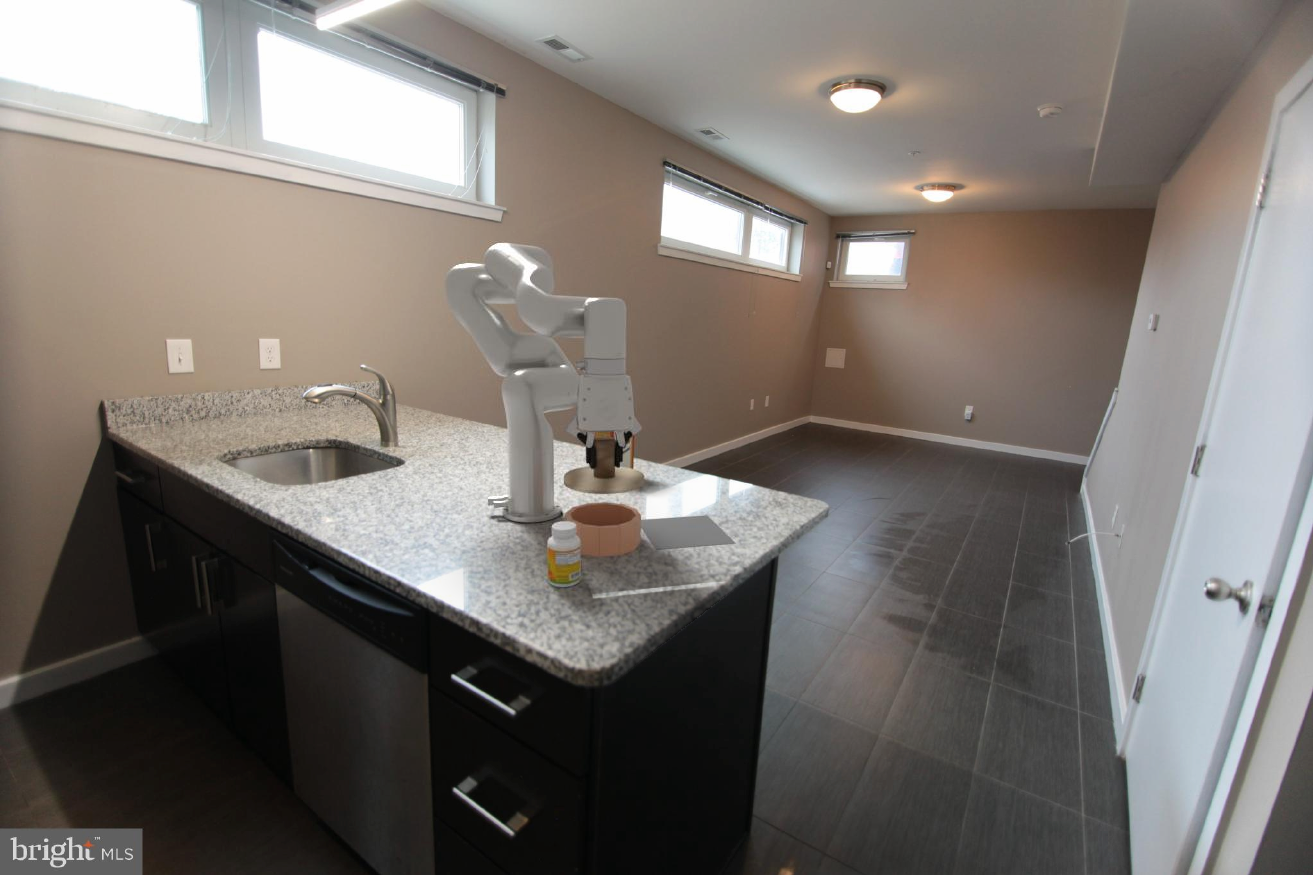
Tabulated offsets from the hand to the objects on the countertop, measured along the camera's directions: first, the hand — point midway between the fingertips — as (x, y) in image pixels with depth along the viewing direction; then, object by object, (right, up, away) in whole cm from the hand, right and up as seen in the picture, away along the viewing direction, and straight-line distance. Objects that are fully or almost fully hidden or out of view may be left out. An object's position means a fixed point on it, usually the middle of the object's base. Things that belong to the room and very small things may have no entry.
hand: (604, 465), depth 109 cm
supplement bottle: (-6, -19, -12) cm, 23 cm away
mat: (+15, -14, +10) cm, 23 cm away
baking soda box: (-2, -6, +49) cm, 49 cm away
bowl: (-1, -15, +3) cm, 16 cm away
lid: (0, -3, +1) cm, 3 cm away
